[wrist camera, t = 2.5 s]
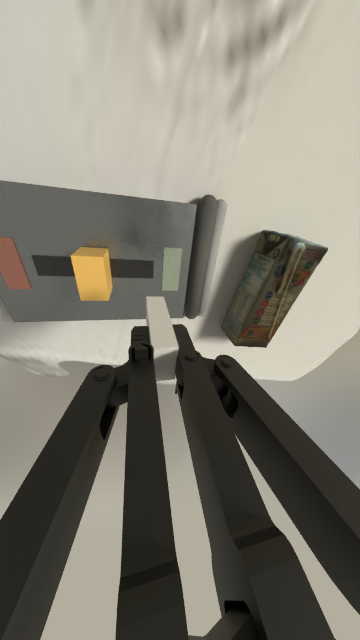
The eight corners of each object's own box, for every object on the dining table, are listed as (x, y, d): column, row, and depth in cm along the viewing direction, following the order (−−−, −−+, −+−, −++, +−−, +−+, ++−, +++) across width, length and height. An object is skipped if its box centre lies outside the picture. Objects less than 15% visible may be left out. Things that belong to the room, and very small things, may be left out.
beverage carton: (301, 239, 30) (337, 248, 24) (250, 330, 39) (268, 351, 34) (262, 227, 27) (293, 234, 22) (218, 327, 37) (232, 349, 32)
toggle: (80, 246, 21) (70, 255, 17) (108, 248, 21) (102, 257, 18) (88, 286, 23) (80, 300, 20) (112, 287, 24) (108, 300, 21)
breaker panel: (-34, 176, 18) (-63, 172, 16) (190, 204, 23) (197, 204, 21) (24, 310, 27) (13, 322, 24) (179, 308, 32) (182, 318, 29)
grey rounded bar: (197, 193, 23) (203, 193, 21) (225, 197, 24) (233, 197, 22) (182, 314, 33) (185, 321, 31) (202, 314, 34) (206, 321, 32)
